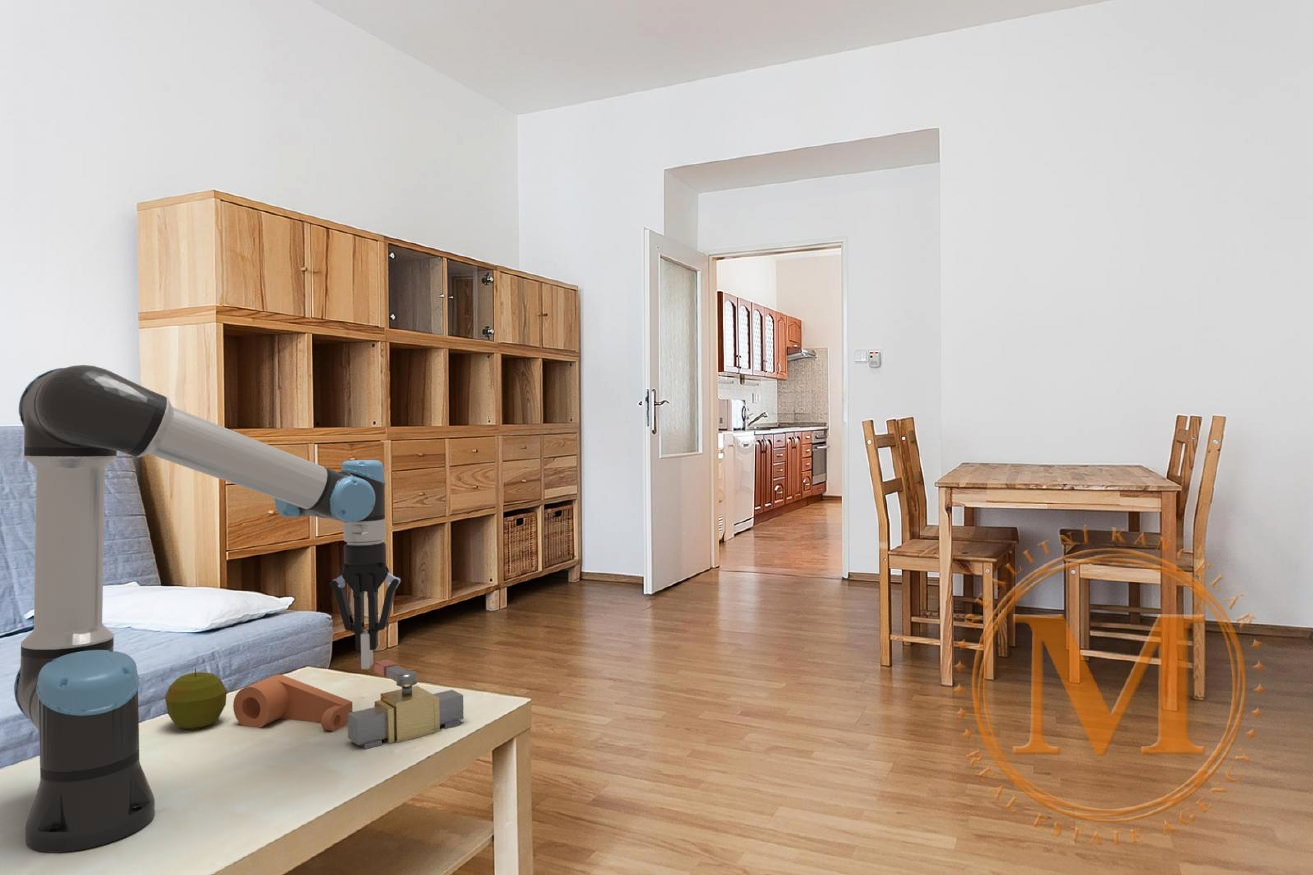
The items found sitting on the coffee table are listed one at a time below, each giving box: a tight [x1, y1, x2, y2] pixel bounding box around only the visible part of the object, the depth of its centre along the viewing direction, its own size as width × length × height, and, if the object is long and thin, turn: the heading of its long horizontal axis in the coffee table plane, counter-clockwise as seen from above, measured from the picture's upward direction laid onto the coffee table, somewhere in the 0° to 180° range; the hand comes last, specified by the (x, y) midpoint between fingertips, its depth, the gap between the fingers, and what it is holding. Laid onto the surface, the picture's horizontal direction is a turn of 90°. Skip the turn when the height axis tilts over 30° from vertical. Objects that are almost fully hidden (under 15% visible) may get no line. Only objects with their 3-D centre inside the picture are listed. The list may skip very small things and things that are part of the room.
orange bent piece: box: [232, 674, 354, 732], centre depth 163 cm, size 20×8×8 cm, turn 74°
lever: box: [374, 659, 418, 688], centre depth 161 cm, size 13×4×2 cm, turn 40°
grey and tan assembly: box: [347, 685, 465, 750], centre depth 158 cm, size 20×7×8 cm, turn 130°
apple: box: [164, 668, 228, 731], centre depth 162 cm, size 10×10×11 cm
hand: (367, 666), depth 165 cm, fingers closed
